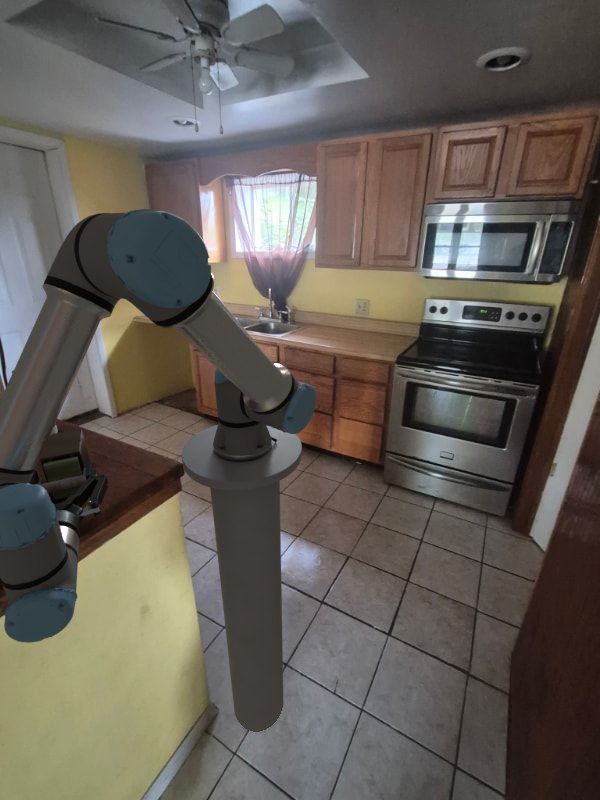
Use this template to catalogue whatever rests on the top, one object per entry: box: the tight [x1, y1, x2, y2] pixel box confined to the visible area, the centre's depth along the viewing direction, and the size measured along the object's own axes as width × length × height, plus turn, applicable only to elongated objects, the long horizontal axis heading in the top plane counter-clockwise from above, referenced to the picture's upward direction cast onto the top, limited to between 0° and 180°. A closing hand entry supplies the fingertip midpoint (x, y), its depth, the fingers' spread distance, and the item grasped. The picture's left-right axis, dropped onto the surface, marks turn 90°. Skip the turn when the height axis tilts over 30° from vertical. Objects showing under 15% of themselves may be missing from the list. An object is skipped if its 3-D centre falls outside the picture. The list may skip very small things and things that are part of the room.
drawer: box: [38, 454, 86, 501], centre depth 80 cm, size 16×9×9 cm, turn 27°
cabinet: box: [39, 428, 90, 500], centre depth 84 cm, size 11×7×10 cm, turn 27°
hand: (63, 470), depth 77 cm, fingers closed on drawer, 9 cm apart
